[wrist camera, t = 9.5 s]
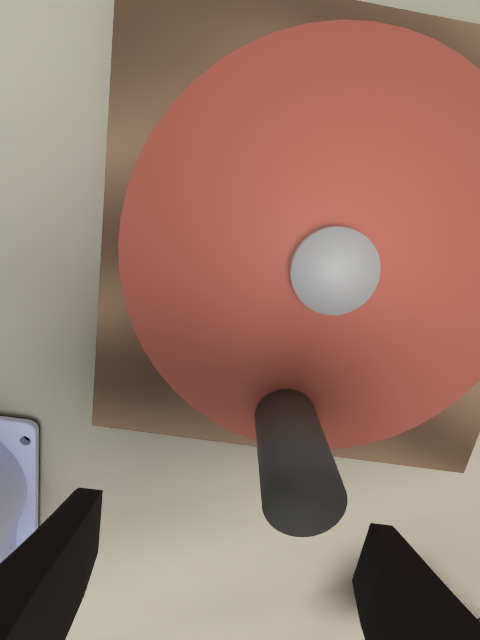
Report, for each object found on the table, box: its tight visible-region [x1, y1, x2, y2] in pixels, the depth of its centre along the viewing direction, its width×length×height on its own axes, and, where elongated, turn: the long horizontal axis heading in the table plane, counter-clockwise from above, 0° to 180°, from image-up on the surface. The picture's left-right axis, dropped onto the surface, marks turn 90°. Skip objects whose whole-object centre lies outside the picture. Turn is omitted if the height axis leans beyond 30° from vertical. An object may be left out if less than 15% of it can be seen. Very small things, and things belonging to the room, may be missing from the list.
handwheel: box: [118, 19, 480, 537], centre depth 13 cm, size 16×16×6 cm
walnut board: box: [92, 0, 480, 473], centre depth 17 cm, size 18×18×2 cm
